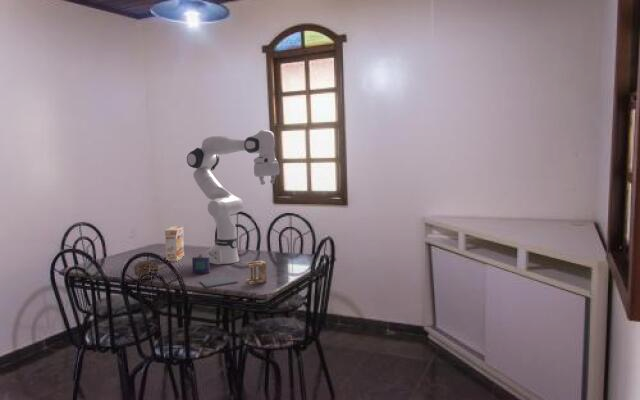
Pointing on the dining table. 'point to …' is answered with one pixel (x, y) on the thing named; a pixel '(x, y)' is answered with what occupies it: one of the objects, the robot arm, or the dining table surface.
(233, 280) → the mat
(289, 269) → the dining table surface
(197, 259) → the flask
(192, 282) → the dining table surface
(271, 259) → the dining table surface
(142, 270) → the pine cone
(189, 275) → the dining table surface
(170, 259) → the coffeecake box
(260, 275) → the stool
